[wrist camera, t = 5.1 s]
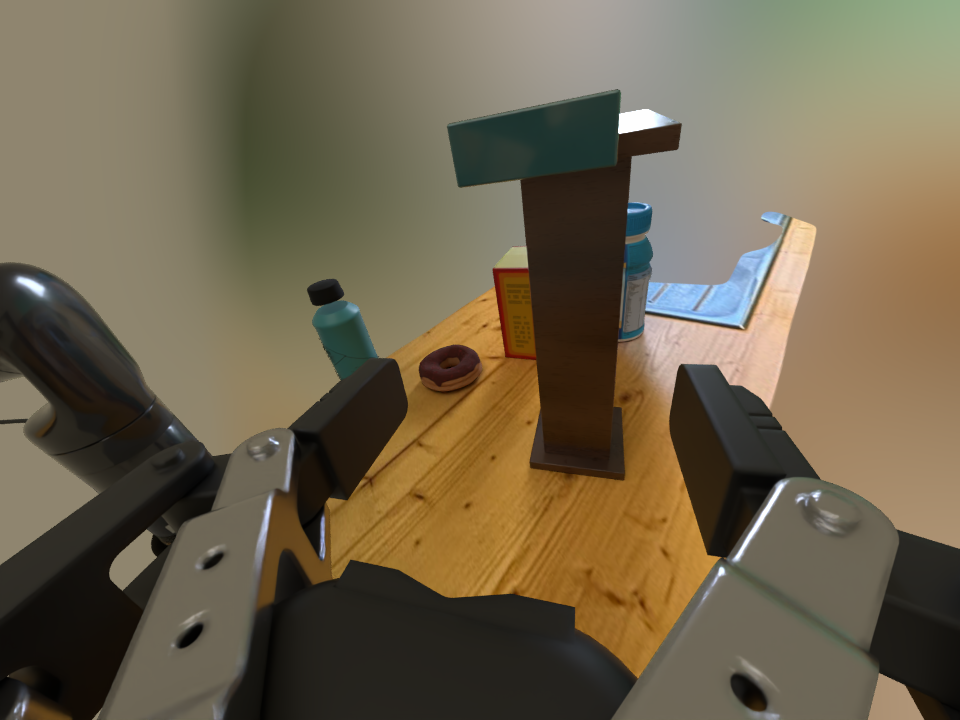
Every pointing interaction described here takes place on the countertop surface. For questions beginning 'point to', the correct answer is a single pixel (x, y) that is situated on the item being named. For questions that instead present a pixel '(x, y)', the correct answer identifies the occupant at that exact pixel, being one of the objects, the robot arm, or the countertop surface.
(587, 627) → the countertop surface
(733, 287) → the countertop surface
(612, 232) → the stand
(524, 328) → the baking soda box
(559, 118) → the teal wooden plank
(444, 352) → the donut
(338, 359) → the beverage bottle
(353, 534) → the countertop surface
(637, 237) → the beverage bottle
